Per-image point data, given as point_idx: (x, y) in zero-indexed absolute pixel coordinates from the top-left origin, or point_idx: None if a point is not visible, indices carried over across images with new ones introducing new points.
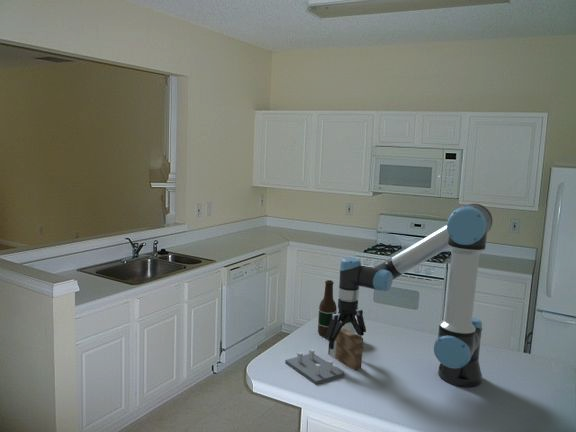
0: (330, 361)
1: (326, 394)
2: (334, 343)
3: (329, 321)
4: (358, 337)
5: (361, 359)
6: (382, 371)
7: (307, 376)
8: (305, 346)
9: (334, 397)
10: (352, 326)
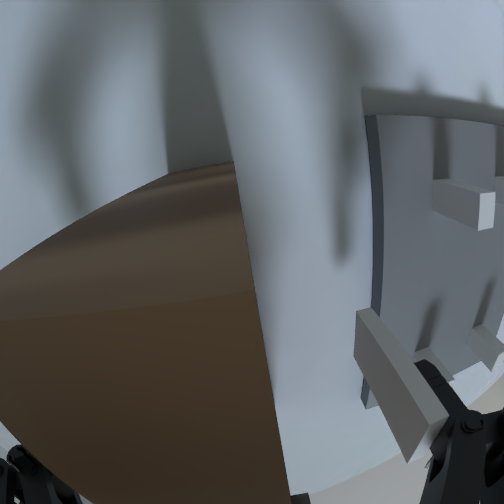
0: (486, 209)
1: (500, 39)
2: (436, 401)
3: None
4: (71, 447)
5: (149, 183)
6: (53, 97)
7: None
8: (322, 456)
9: (481, 3)
10: (87, 501)
